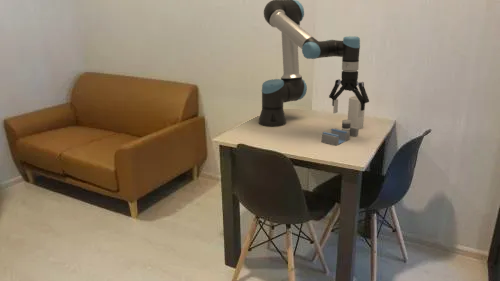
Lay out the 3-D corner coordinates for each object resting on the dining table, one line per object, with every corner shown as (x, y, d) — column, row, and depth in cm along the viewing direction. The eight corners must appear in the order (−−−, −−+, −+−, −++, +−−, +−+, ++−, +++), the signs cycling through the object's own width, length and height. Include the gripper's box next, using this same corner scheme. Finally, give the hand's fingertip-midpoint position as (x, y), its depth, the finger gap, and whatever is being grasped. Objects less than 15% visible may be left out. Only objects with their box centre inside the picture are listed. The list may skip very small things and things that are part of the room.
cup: (363, 129, 208) (366, 99, 203) (347, 128, 210) (349, 98, 205) (362, 125, 216) (364, 95, 211) (346, 124, 217) (348, 95, 212)
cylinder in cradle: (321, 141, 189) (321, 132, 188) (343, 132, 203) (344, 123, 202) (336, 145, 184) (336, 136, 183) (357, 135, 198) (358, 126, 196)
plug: (339, 136, 197) (340, 120, 195) (344, 134, 200) (345, 119, 197) (347, 138, 194) (348, 122, 192) (351, 136, 197) (352, 120, 195)
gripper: (322, 69, 193) (321, 112, 199) (370, 73, 176) (367, 120, 182) (331, 67, 198) (329, 109, 204) (378, 71, 181) (375, 117, 188)
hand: (347, 114), depth 193 cm, fingers open, 13 cm apart
